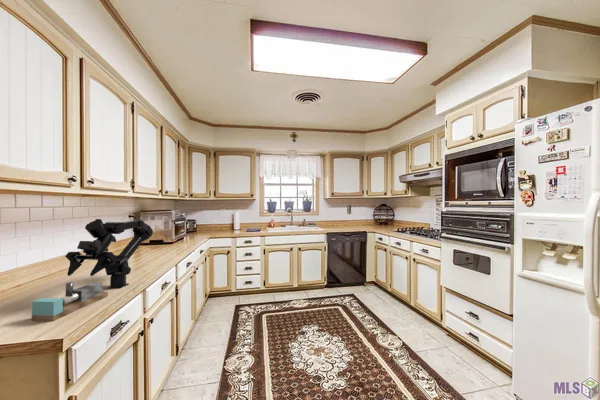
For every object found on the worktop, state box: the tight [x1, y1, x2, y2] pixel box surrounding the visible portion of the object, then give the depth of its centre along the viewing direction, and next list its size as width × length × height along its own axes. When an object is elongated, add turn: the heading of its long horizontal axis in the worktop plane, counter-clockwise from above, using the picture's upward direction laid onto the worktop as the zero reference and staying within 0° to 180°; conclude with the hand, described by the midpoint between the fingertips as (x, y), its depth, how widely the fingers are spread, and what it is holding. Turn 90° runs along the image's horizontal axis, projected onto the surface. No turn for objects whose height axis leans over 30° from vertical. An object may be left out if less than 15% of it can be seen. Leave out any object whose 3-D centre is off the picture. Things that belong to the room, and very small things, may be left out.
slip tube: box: [62, 281, 81, 305], centre depth 100 cm, size 13×3×8 cm, turn 178°
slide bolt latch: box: [31, 282, 109, 322], centre depth 99 cm, size 24×8×6 cm, turn 178°
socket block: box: [31, 297, 63, 316], centre depth 89 cm, size 3×8×5 cm, turn 87°
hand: (79, 275), depth 102 cm, fingers open, 9 cm apart
